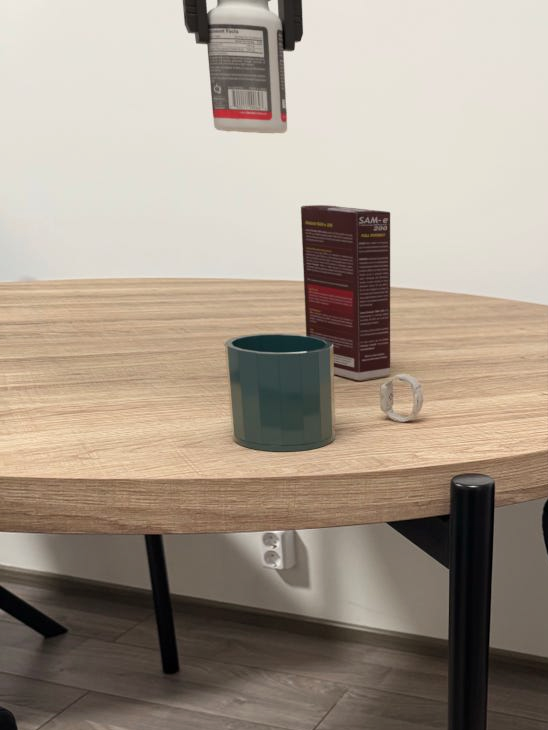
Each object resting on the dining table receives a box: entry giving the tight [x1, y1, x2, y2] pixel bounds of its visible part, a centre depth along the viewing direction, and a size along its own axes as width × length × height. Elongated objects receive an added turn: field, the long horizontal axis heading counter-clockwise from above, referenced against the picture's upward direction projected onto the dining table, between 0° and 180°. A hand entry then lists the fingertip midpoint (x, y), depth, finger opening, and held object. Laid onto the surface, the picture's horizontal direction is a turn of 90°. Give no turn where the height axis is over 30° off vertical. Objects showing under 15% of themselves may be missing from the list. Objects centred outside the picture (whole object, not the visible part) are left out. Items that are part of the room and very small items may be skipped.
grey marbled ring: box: [379, 373, 425, 423], centre depth 83 cm, size 4×2×4 cm, turn 73°
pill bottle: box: [206, 0, 288, 134], centre depth 68 cm, size 5×5×10 cm
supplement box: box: [300, 204, 391, 382], centre depth 96 cm, size 9×5×16 cm, turn 48°
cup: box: [224, 333, 336, 452], centre depth 76 cm, size 8×8×8 cm
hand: (246, 45), depth 68 cm, fingers closed on pill bottle, 5 cm apart
